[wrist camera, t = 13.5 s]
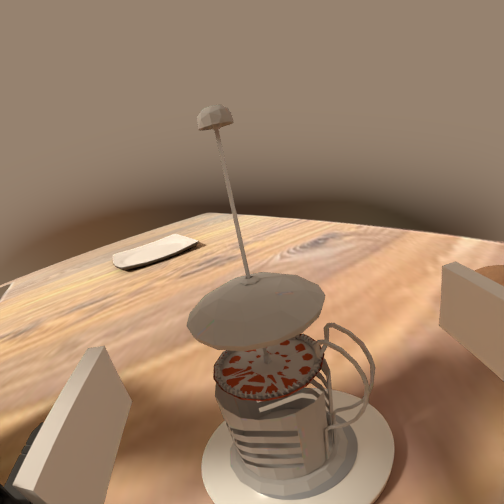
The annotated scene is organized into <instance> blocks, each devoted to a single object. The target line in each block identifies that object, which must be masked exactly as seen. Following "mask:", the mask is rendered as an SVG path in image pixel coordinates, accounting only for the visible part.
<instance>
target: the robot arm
mask: <svg viewBox="0 0 504 504" xmlns="http://www.w3.org/2000/svg"><path fill="white" fill-rule="evenodd" d="M439 326H440V327H441V328H442V329H444V330H445V331H446V332H447V333H448V334H450V335H451V336H452V337H453V338H454V339H456V340H457V341H458V342H459V343H460V344H462V345H463V346H464V347H465V348H466V349H467V350H469V351H470V352H471V353H472V354H473V355H474V356H475V357H477V358H478V359H479V360H480V361H481V362H482V363H483V364H485V365H486V366H487V367H488V368H489V369H490V370H491V371H493V372H494V373H495V374H496V375H497V376H498V377H499V378H500V379H501V380H503V381H504V286H502V285H500V284H498V283H497V282H495V281H493V280H491V279H489V278H487V277H485V276H483V275H481V274H479V273H477V272H475V271H473V270H471V269H469V268H467V267H465V266H463V265H461V264H459V263H457V262H453V263H450V264H447V265H444V266H442V285H441V305H440V318H439ZM131 404H132V400H131V398H130V396H129V394H128V392H127V390H126V388H125V387H124V385H123V383H122V381H121V379H120V377H119V375H118V373H117V371H116V369H115V367H114V365H113V363H112V361H111V359H110V356H109V354H108V352H107V350H106V348H105V346H100V347H93V348H88V349H87V351H86V352H85V354H84V355H83V357H82V358H81V360H80V362H79V363H78V365H77V367H76V368H75V370H74V371H73V373H72V375H71V376H70V378H69V380H68V381H67V383H66V385H65V386H64V388H63V390H62V392H61V393H60V395H59V397H58V398H57V400H56V402H55V404H54V405H53V407H52V409H51V411H50V412H49V414H48V416H47V418H46V420H45V421H44V422H42V423H41V424H40V425H39V426H38V427H37V428H36V429H35V430H34V431H33V432H32V433H31V435H30V437H29V439H28V440H27V442H26V446H24V448H23V450H22V452H21V453H22V455H20V456H19V457H18V459H17V461H16V463H15V465H14V467H13V469H12V471H11V473H10V475H9V478H8V480H7V482H6V484H5V486H4V487H3V486H2V485H1V484H0V504H104V502H105V498H106V493H107V489H108V485H109V481H110V478H111V474H112V470H113V466H114V463H115V459H116V455H117V452H118V448H119V444H120V441H121V437H122V434H123V431H124V427H125V424H126V420H127V417H128V414H129V411H130V407H131Z"/></svg>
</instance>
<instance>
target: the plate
mask: <svg viewBox="0 0 504 504" xmlns="http://www.w3.org/2000/svg"><path fill="white" fill-rule="evenodd" d="M198 242H199V241H197V240H194V239H191V238H188V237H185V236H182V235H178V234H172V235H170V236H167V237H165V238H162V239H160V240H157V241H155V242H152V243H149V244H146V245H143V246H140V247H137V248H134V249H131V250H127V251H123V252H120V253H116V254H113V263H114V265H115V266H116V267H117V268H120V269H123V270H127V269H132V268H137V267H141V266H145V265H149V264H152V263H155V262H158V261H162V260H164V259H167V258H169V257H172V256H174V255H177V254H179V253H181V252H183V251H185V250H187V249H189V248H191V247H193V246H195V245H196V244H197V243H198Z"/></svg>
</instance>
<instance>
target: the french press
mask: <svg viewBox="0 0 504 504" xmlns="http://www.w3.org/2000/svg"><path fill="white" fill-rule="evenodd" d="M197 123H198V128H199V130H209V129H214V130H215V135H216V140H217V144H218V149H219V154H220V158H221V163H222V168H223V173H224V177H225V181H226V186H227V191H228V196H229V200H230V205H231V209H232V214H233V219H234V223H235V228H236V232H237V237H238V241H239V246H240V250H241V255H242V259H243V264H244V268H245V273H246V276H241V277H237V278H234V279H232V280H230V281H229V282H227V283H225V284H224V285H222V286H220V287H219V288H217V289H215V290H213V291H212V292H210V293H208V294H207V295H205V296H204V297H203V298H202V299H201V301H200V302H199V303H198V304H197V305H196V306H195V308H194V309H193V310H192V311H191V312H190V314H189V318H188V322H187V327H188V329H189V330H190V332H191V333H192V335H193V337H194V338H195V339H196V340H198V341H199V342H200V343H203V344H205V345H207V346H210V347H212V348H215V349H217V350H226V351H224V352H223V353H222V354H221V356H220V357H219V359H218V360H217V362H216V363H215V365H214V376H213V378H214V380H215V381H216V390H215V397H216V400H217V402H218V405H219V408H220V410H221V413H222V416H223V418H224V420H225V421H226V425H227V428H228V430H229V432H230V433H231V437H232V440H233V444H232V446H231V448H230V466H231V468H232V469H233V471H234V473H235V474H236V476H237V477H238V479H239V480H240V482H242V483H244V484H245V485H247V486H249V487H250V488H252V489H254V490H256V491H257V492H259V493H266V494H273V495H281V496H287V495H292V494H297V493H301V492H306V491H310V490H312V489H314V488H315V487H317V486H319V485H320V484H322V483H324V482H325V481H327V480H328V479H330V478H331V477H333V475H334V474H335V473H336V471H337V470H338V468H339V467H340V466H341V464H342V463H343V461H344V460H345V456H346V450H347V443H348V440H347V438H346V436H345V433H344V431H343V428H342V427H346V426H348V425H350V424H352V423H354V422H355V421H357V420H358V419H359V418H360V417H361V416H362V414H363V413H364V412H365V409H366V407H367V405H368V402H369V394H370V393H371V390H372V388H373V384H374V375H375V365H374V362H373V359H372V356H371V354H370V353H369V351H368V349H367V348H366V346H365V344H364V343H363V342H362V341H361V340H360V339H359V338H358V337H356V336H355V335H354V334H353V333H352V332H351V331H349V330H347V329H345V328H343V327H341V326H339V325H337V324H335V323H327V324H326V326H325V327H324V337H325V340H318V341H315V340H314V339H312V338H310V337H309V336H307V335H304V334H301V333H303V332H304V331H305V330H306V329H307V328H308V327H309V326H310V325H311V324H312V323H313V322H314V321H315V320H316V319H317V318H318V317H319V315H320V313H321V310H322V306H323V303H324V300H325V294H324V292H323V291H322V290H321V288H320V287H319V285H317V284H315V283H312V282H310V281H308V280H306V279H304V278H302V277H299V276H297V275H289V274H279V273H268V272H259V273H255V274H250V273H249V269H248V264H247V259H246V255H245V250H244V246H243V241H242V237H241V232H240V227H239V223H238V218H237V214H236V209H235V205H234V200H233V195H232V191H231V186H230V182H229V177H228V172H227V167H226V163H225V158H224V154H223V149H222V144H221V139H220V135H219V130H218V129H220V128H221V127H223V126H226V125H230V124H232V123H233V118H232V115H231V112H230V111H229V109H228V108H226V107H224V106H222V105H214V106H209V107H206V108H204V109H202V111H201V113H200V114H199V116H198V117H197ZM330 327H333V328H335V329H337V330H339V331H341V332H343V333H345V334H347V335H348V336H350V337H351V338H352V339H353V340H354V341H355V342H356V343H357V344H358V345H359V346H360V347H361V349H362V350H363V352H364V353H365V355H366V357H367V359H368V361H369V363H370V373H371V383H370V385H369V384H368V381H367V378H366V375H365V373H364V372H363V370H362V369H361V367H360V366H359V365H358V363H357V362H356V361H355V360H354V359H353V358H352V357H351V356H350V355H349V354H348V353H347V352H346V351H345V350H344V349H342V348H341V347H339V346H337V345H335V344H333V343H331V342H329V328H330ZM321 344H323V346H322V348H321V346H320V345H321ZM327 346H328V347H330V348H332V349H334V350H336V351H338V352H340V353H341V354H342V355H343V356H345V357H346V358H347V359H348V360H349V361H350V362H351V363H352V364H353V365H354V366H355V368H356V369H357V371H358V372H359V374H360V375H361V377H362V380H363V383H364V385H365V391H364V396H363V398H362V399H361V400H360V401H359V402H357V403H355V404H353V405H351V406H347V407H342V408H337V409H336V410H334V411H333V399H332V387H331V375H330V369H329V367H328V365H327V362H326V360H325V359H324V352H325V350H326V348H327ZM321 369H322V371H323V372H324V374H325V375H326V378H327V382H326V380H325V379H324V377H323V376H322V374H321V373H320V372H319V371H320V370H321ZM315 376H317V377H318V378H319V379H321V380H322V382H323V383H324V385H325V386H326V388H327V390H328V394H327V392H326V391H325V389H324V388H323V386H322V385H320V384H319V383H318V382H316V381H315V380H314V379H313V378H314V377H315ZM309 383H311V384H313V385H314V386H315V387H317V388H318V389H319V390H321V391H322V392H323V393H322V394H321V395H320V394H319V393H317V392H316V391H315V390H313V389H311V388H304V387H306V386H307V385H308V384H309ZM300 393H305V394H313V395H314V396H315V397H317V398H318V399H317V400H314V399H310V398H303V397H302V398H299V399H296V400H293V401H290V402H287V403H285V404H282V405H279V406H277V407H274V408H271V409H268V410H265V411H263V412H260V411H259V408H261V407H264V406H267V405H270V404H272V403H275V402H278V401H280V400H283V399H286V398H288V397H290V396H293V395H296V394H300ZM324 395H325V396H324ZM325 397H326V398H327V400H328V401H329V405H328V403H327V402H326V400H325ZM257 401H261V402H258V403H257ZM362 403H363V407H362V408H361V410H360V411H359V413H358V414H357V415H356V417H355V418H354V419H352V420H350V421H348V422H346V423H341V424H339V423H338V422H336V417H335V415H336V413H337V412H341V411H346V410H350V409H353V408H355V407H357V406H359V405H360V404H362ZM325 406H326V407H327V409H328V410H329V413H330V415H329V414H328V412H327V411H326V407H325ZM223 407H224V408H223ZM228 425H229V426H230V429H229V426H228ZM232 430H233V432H232ZM233 437H234V439H233Z"/></svg>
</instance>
